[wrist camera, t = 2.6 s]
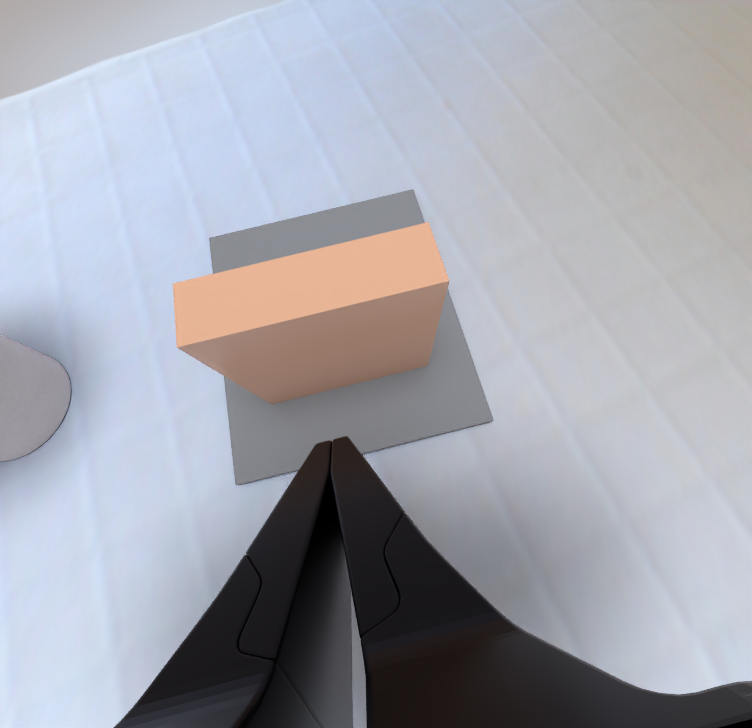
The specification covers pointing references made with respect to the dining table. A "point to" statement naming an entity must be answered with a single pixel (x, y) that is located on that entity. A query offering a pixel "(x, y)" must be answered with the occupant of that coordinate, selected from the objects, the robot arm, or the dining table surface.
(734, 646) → the dining table surface
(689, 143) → the dining table surface
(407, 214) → the mat
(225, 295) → the tile
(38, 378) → the coffee cup
